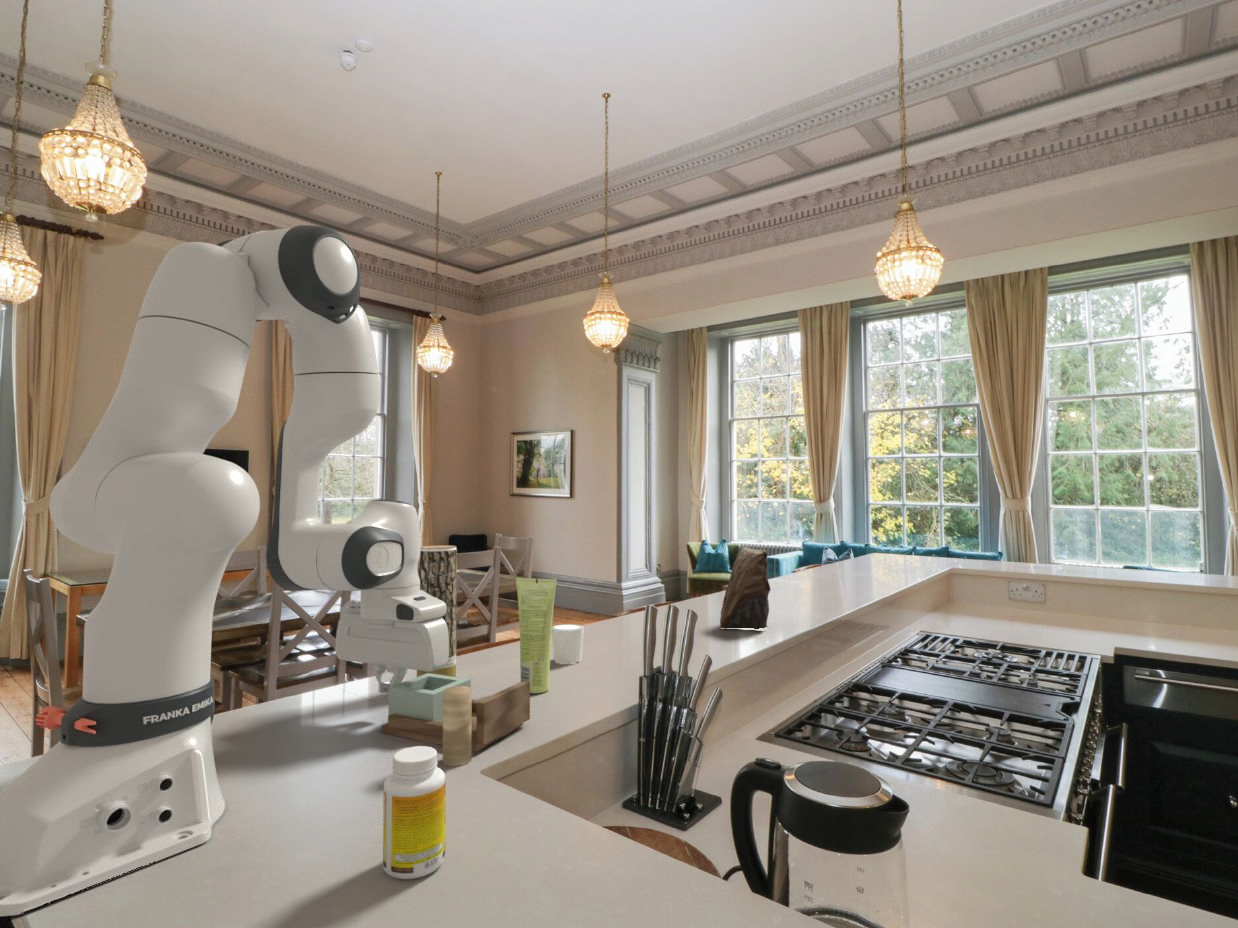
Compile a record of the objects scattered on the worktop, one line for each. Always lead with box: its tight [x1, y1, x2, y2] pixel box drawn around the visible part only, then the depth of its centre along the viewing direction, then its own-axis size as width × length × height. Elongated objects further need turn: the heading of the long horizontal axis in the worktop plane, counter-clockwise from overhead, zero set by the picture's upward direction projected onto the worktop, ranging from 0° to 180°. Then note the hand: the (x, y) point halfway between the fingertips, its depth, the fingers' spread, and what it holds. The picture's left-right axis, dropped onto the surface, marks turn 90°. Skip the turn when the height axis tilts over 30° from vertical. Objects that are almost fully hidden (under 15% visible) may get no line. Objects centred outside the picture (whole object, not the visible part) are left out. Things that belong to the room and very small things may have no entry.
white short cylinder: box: [551, 623, 585, 665], centre depth 136 cm, size 7×7×7 cm
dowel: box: [442, 686, 473, 767], centre depth 86 cm, size 4×4×9 cm
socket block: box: [387, 673, 472, 723], centre depth 99 cm, size 8×8×5 cm
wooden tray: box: [380, 680, 531, 752], centre depth 97 cm, size 11×18×6 cm, turn 65°
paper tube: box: [416, 544, 458, 677], centre depth 118 cm, size 7×7×25 cm
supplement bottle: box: [382, 745, 446, 880], centre depth 62 cm, size 6×6×10 cm
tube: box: [515, 577, 558, 694], centre depth 116 cm, size 6×5×20 cm
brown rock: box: [719, 546, 771, 629], centre depth 169 cm, size 13×13×20 cm
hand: (389, 693), depth 103 cm, fingers closed
